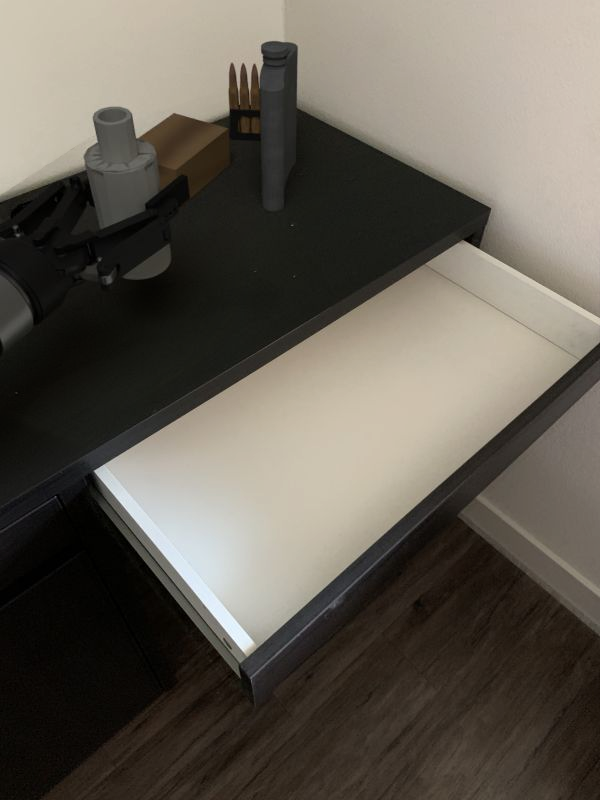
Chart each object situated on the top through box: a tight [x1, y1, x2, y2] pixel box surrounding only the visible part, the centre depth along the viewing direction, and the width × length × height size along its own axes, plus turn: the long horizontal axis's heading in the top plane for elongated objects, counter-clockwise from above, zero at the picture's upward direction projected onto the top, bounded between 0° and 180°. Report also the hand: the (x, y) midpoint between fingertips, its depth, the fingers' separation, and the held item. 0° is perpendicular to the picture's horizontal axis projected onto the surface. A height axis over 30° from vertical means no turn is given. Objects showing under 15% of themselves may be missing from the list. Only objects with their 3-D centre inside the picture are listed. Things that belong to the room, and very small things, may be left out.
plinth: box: [136, 112, 231, 208], centre depth 100 cm, size 10×14×6 cm
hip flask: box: [259, 40, 299, 213], centre depth 95 cm, size 16×4×20 cm, turn 172°
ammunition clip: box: [228, 62, 261, 142], centre depth 107 cm, size 11×2×12 cm, turn 87°
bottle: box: [83, 106, 172, 281], centre depth 69 cm, size 7×7×17 cm
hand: (156, 176), depth 73 cm, fingers closed on bottle, 7 cm apart
